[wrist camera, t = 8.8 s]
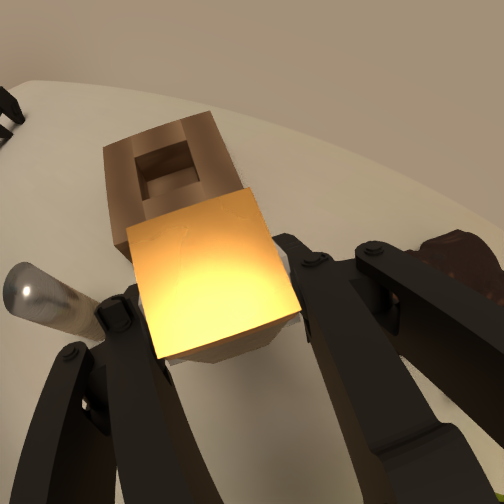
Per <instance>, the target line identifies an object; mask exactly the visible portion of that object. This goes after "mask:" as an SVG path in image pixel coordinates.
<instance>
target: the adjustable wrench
mask: <svg viewBox="0 0 504 504" xmlns="http://www.w3.org/2000/svg"><path fill="white" fill-rule="evenodd" d="M2 113H3V114H5V115H6V116H7V117H8V118H10V119H11V120H12V121H13V122H15V123H18V124H23V123H24V122H25V119H24V116H23V114H22V111H21V109H20V106H19V104H18V101H17V99H15V98H14V97H13V96H12V95H11V94H10V93H9V92H8V91H6V90H5V89H4V88H3V87H2V86H0V116H1V114H2ZM13 135H14V134H13V133H11V132H10V131H9V130H7V129H6V128H5V127H3V126H2V125H1V124H0V138H7V139H10V138H11V137H12V136H13Z"/></svg>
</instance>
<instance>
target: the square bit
mask: <svg viewBox="0 0 504 504" xmlns="http://www.w3.org/2000/svg"><path fill="white" fill-rule="evenodd" d="M126 231H127V237H128V242H129V247H130V252H131V257H132V261H133V266H134V271H135V275H136V279H137V284H138V288H139V292H140V296H141V300H142V304H143V308H144V312H145V316H146V319H147V323H148V327H149V330H150V334H151V337H152V341H153V344H154V347H155V351H156V354H157V357H158V359H164V360H173V359H181V360H188V361H195V362H203V363H211V364H214V363H217V362H220V361H223V360H226V359H229V358H232V357H235V356H238V355H241V354H244V353H247V352H250V351H252V350H255V349H258V348H261V347H264V346H266V345H269V344H270V342H271V341H272V340H273V339H274V338H275V337H276V335H277V334H278V333H279V332H280V331H281V329H282V328H283V327H284V326H285V325H286V324H287V322H288V321H289V320H291V319H293V318H295V317H296V316H297V315H298V313H299V312H300V311H301V310H302V309H301V307H300V304H299V302H298V300H297V297H296V295H295V292H294V290H293V287H292V285H291V283H290V280H289V278H288V275H287V273H286V271H285V268H284V266H283V263H282V261H281V259H280V256H279V254H278V251H277V249H276V247H275V244H274V242H273V240H272V237H271V235H270V233H269V230H268V228H267V226H266V223H265V221H264V219H263V216H262V214H261V212H260V209H259V207H258V205H257V202H256V200H255V198H254V195H253V193H252V191H251V189H250V187H249V188H245V189H242V190H239V191H235V192H232V193H229V194H226V195H222V196H219V197H216V198H213V199H210V200H206V201H203V202H200V203H197V204H194V205H191V206H188V207H185V208H182V209H179V210H176V211H173V212H170V213H167V214H164V215H161V216H159V217H156V218H153V219H150V220H147V221H144V222H142V223H139V224H136V225H133V226H131V227H128V228H126Z"/></svg>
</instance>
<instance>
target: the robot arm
mask: <svg viewBox="0 0 504 504" xmlns="http://www.w3.org/2000/svg"><path fill="white" fill-rule="evenodd" d="M272 240H273V242H274V244H275V247H276V249H277V251H278V254H279V256H280V259H281V261H282V263H283V266H284V268H285V271H286V273H287V275H288V278H289V280H290V283H291V285H292V287H293V290H294V292H295V295H296V297H297V300H298V302H299V304H300V307H301V309H302V310H301V311H300V313H301V314H302V316H303V320H304V325H305V330H306V336H307V342H308V343H309V342H310V343H311V345H312V348H313V351H314V354H315V357H316V359H317V362H318V365H319V368H320V371H321V373H322V376H323V379H324V382H325V385H326V388H327V390H328V393H329V396H330V399H331V402H332V405H333V408H334V411H335V413H336V416H337V419H338V422H339V425H340V428H341V431H342V434H343V437H344V440H345V443H346V446H347V449H348V452H349V455H350V458H351V461H352V464H353V467H354V470H355V473H356V476H357V479H358V482H359V485H360V488H361V492H362V496H363V502H364V504H504V502H500V501H499V500H498V498H497V496H496V494H495V492H494V490H493V488H492V486H491V484H490V482H489V480H488V479H487V477H486V475H485V473H484V471H483V469H482V467H481V465H480V463H479V462H478V460H477V458H476V456H475V454H474V453H473V451H472V449H471V447H470V445H469V444H468V442H467V440H466V438H465V437H464V435H463V434H462V432H461V431H460V430H459V428H458V427H457V426H455V425H453V424H452V423H441V422H440V421H439V420H438V419H437V418H436V416H435V415H434V413H433V411H432V409H431V408H430V406H429V404H428V403H427V401H426V399H425V398H424V396H423V394H422V392H421V391H420V389H419V387H418V386H417V384H416V383H415V381H414V379H413V378H412V376H411V374H410V373H409V371H408V370H407V368H406V366H405V365H404V363H403V362H402V360H401V358H400V357H399V355H398V354H397V352H396V350H397V351H398V352H399V353H400V354H401V355H402V356H403V357H405V358H406V359H407V360H408V361H409V362H410V363H411V364H412V365H413V366H415V367H416V368H417V369H418V370H419V371H420V372H421V373H422V374H423V375H425V376H426V377H427V378H428V379H429V380H430V381H431V382H432V383H433V384H434V385H436V386H437V387H438V388H439V389H440V390H441V391H442V392H443V393H444V394H445V395H446V396H448V397H449V398H450V399H451V400H452V401H453V402H454V403H455V404H456V405H457V406H458V407H459V408H460V409H462V410H463V411H464V412H465V413H466V414H467V415H468V416H469V417H470V418H471V419H472V420H473V421H474V422H475V423H477V424H478V425H479V426H480V427H481V428H482V429H483V430H484V431H485V432H486V433H487V434H488V435H489V436H490V437H491V438H492V439H493V440H495V441H496V442H497V443H498V444H499V445H500V446H501V447H502V448H503V449H504V308H503V307H502V306H500V305H498V304H497V303H495V302H493V301H492V300H490V299H488V298H487V297H485V296H483V295H482V294H480V293H478V292H477V291H475V290H473V289H471V288H470V287H468V286H466V285H465V284H463V283H461V282H459V281H457V280H456V279H454V278H452V277H450V276H449V275H447V274H445V273H443V272H441V271H439V270H438V269H436V268H434V267H432V266H430V265H428V264H427V263H425V262H423V261H421V260H419V259H417V258H415V257H413V256H411V255H410V254H408V253H406V252H404V251H402V250H400V249H398V248H396V247H394V246H392V245H390V244H388V243H385V242H380V241H368V242H366V243H363V244H361V245H359V246H357V248H356V249H355V258H354V259H348V260H343V261H334V259H333V258H332V257H331V256H330V255H329V254H327V253H323V252H312V251H311V250H310V249H309V248H308V247H307V246H305V245H304V244H303V243H302V242H301V241H300V240H298V239H297V238H296V237H295V236H294V235H290V234H287V233H283V234H280V235H277V236H274V237H272ZM393 293H394V294H395V295H396V297H397V298H398V300H399V301H397V300H396V299H394V298H393ZM94 315H95V317H96V318H97V320H98V322H99V324H100V325H101V327H102V329H103V331H104V332H105V341H104V342H102V343H101V344H99V345H97V346H95V347H93V348H91V349H88V347H87V346H86V344H85V343H84V342H81V341H78V342H73V343H70V344H68V345H67V346H65V347H63V349H62V350H61V351H60V352H59V353H58V355H57V357H56V359H55V361H54V363H53V366H52V368H51V370H50V373H49V375H48V378H47V380H46V383H45V385H44V388H43V390H42V393H41V395H40V398H39V401H38V403H37V406H36V409H35V412H34V415H33V418H32V420H31V423H30V426H29V429H28V433H27V436H26V439H25V442H24V446H23V449H22V452H21V456H20V459H19V463H18V467H17V471H16V475H15V479H14V483H13V488H12V492H11V497H10V502H9V504H115V485H116V470H117V469H118V474H119V479H120V484H121V489H122V494H123V498H124V503H125V504H224V503H223V501H222V499H221V497H220V495H219V493H218V491H217V488H216V486H215V484H214V482H213V480H212V478H211V476H210V473H209V471H208V469H207V467H206V464H205V462H204V460H203V458H202V455H201V453H200V451H199V448H198V446H197V443H196V441H195V438H194V436H193V433H192V431H191V428H190V426H189V423H188V421H187V418H186V415H185V413H184V410H183V407H182V405H181V402H180V399H179V396H178V394H177V391H176V388H175V385H174V382H173V379H172V376H171V373H170V372H169V370H168V368H167V367H166V365H165V360H164V359H158V357H157V354H156V351H155V347H154V344H153V341H152V337H151V334H150V330H149V327H148V323H147V319H146V316H145V312H144V308H143V304H142V300H141V296H140V292H139V288H138V284H137V283H136V284H133V285H131V286H129V287H128V288H127V290H126V291H125V292H124V294H118V295H115V296H112V297H109V298H108V299H106V300H104V301H103V302H101V303H100V304H99V305H98V306H97V307H96V309H95V311H94ZM297 322H300V317H299V313H298V315H297V316H296V317H295V318H293V319H291V320H289V321H288V322H287V324H286V325H285V326H284V327H287V326H290V325H292V324H295V323H297ZM284 327H283V328H284ZM394 348H395V349H396V350H395V349H394ZM185 361H188V360H181V359H173V360H168V362H169V364H170V366H172V365H175V364H178V363H182V362H185ZM82 400H84V401H85V402H86V403H87V406H86V409H83V408H82Z"/></svg>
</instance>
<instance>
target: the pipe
mask: <svg viewBox="0 0 504 504" xmlns="http://www.w3.org/2000/svg"><path fill="white" fill-rule="evenodd" d="M404 252H406V253H408V254H410V255H411V256H413V257H415V258H417V259H419V260H421V261H423V262H425V263H427V264H428V265H430V266H432V267H434V268H436V269H438V270H439V271H441V272H443V273H445V274H447V275H449V276H450V277H452V278H454V279H456V280H457V281H459V282H461V283H463V284H465V285H466V286H468V287H470V288H471V289H473V290H475V291H477V292H478V293H480V294H482V295H483V296H485V297H487V298H488V299H490V300H492V301H493V302H495V303H497V304H498V305H500V306H502V307H503V308H504V271H503V270H502V269H501V267H500V265H499V262H498V260H497V258H496V256H495V255H494V253H493V252H492V251H491V249H490V248H489V247H488V246H487V244H486V243H485V242H484V241H483V240H482V239H481V238H479V237H478V236H477V235H475V234H472V233H470V232H464V231H461V230H459V229H457V230H454V231H452V232H449V233H447V234H444V235H441V236H439V237H436V238H433V239H429V240H427V241H425V242H423V243H422V244H421V246H420V250H419V251H413V250H410V249H409V250H407V251H404ZM393 298H394V299H396V300H397V301H399V300H398V298H397V297H396V295H395V294H394V293H393ZM394 349H395V348H394ZM395 350H396V349H395ZM396 352H397V354H398V355H401V354H400V353H399V352H398V351H397V350H396ZM401 356H402V355H401Z"/></svg>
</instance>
